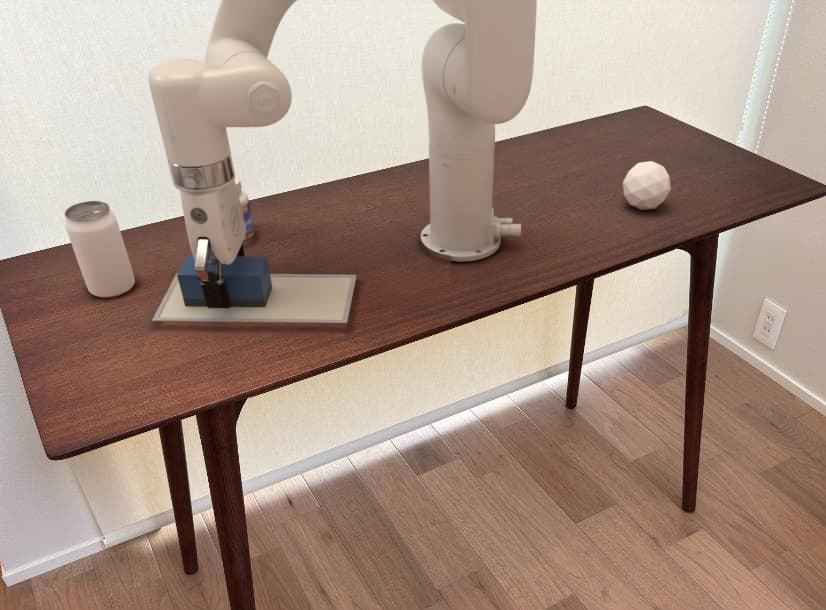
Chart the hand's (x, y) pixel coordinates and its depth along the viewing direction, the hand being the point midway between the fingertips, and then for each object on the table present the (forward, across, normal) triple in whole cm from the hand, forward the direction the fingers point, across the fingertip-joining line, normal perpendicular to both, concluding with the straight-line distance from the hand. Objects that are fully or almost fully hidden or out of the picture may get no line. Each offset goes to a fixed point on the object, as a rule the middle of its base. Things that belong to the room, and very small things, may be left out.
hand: (227, 287), depth 108 cm
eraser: (+2, 0, 0) cm, 2 cm away
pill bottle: (+3, +18, +3) cm, 18 cm away
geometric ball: (+3, +31, -63) cm, 70 cm away
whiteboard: (+3, 0, -4) cm, 5 cm away
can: (+3, +4, +18) cm, 19 cm away
